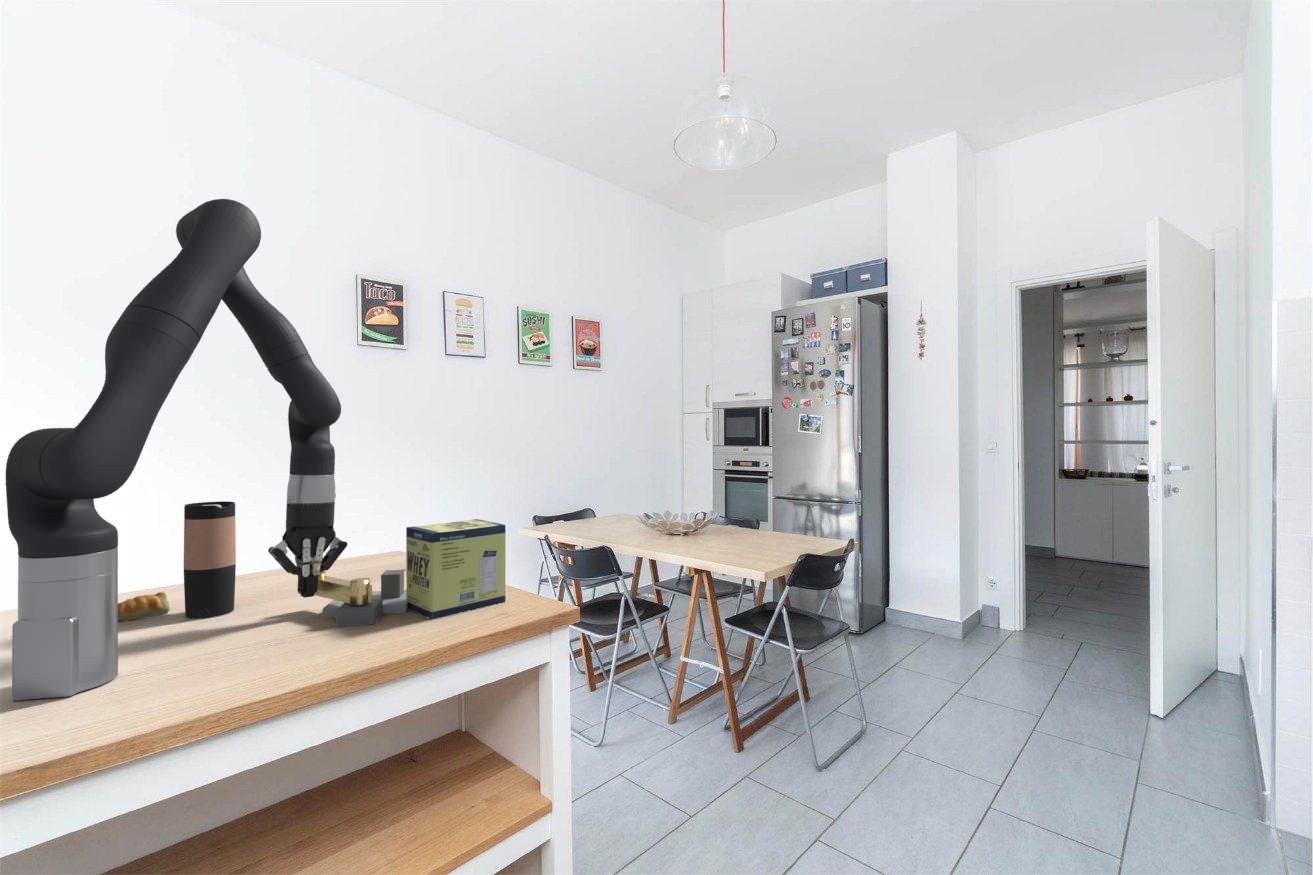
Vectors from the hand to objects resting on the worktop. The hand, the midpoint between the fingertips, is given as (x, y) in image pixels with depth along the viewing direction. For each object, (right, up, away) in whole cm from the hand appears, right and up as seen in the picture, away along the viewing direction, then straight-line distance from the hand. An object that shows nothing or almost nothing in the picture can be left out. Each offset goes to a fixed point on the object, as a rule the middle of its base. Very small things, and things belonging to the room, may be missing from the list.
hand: (307, 596), depth 106 cm
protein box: (+24, -4, +7) cm, 26 cm away
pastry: (-30, -4, 0) cm, 31 cm away
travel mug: (-19, -4, +2) cm, 19 cm away
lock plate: (+9, -4, +3) cm, 11 cm away
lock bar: (+5, -1, +1) cm, 6 cm away
